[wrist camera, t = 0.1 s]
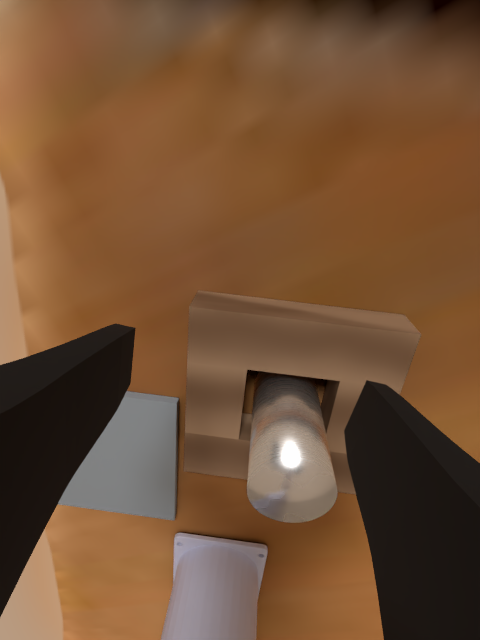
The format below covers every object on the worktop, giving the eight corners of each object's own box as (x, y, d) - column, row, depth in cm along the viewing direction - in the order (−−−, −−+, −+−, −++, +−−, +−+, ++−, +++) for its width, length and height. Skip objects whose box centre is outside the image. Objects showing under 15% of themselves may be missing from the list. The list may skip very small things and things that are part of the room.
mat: (176, 513, 29) (174, 520, 28) (59, 497, 29) (55, 503, 28) (179, 397, 24) (176, 403, 23) (37, 379, 24) (31, 384, 23)
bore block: (355, 465, 25) (363, 495, 23) (191, 443, 25) (183, 471, 23) (404, 314, 20) (421, 334, 18) (198, 290, 20) (189, 306, 18)
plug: (309, 414, 23) (327, 528, 16) (251, 406, 23) (242, 516, 16) (321, 364, 22) (346, 466, 14) (257, 356, 22) (251, 453, 15)
